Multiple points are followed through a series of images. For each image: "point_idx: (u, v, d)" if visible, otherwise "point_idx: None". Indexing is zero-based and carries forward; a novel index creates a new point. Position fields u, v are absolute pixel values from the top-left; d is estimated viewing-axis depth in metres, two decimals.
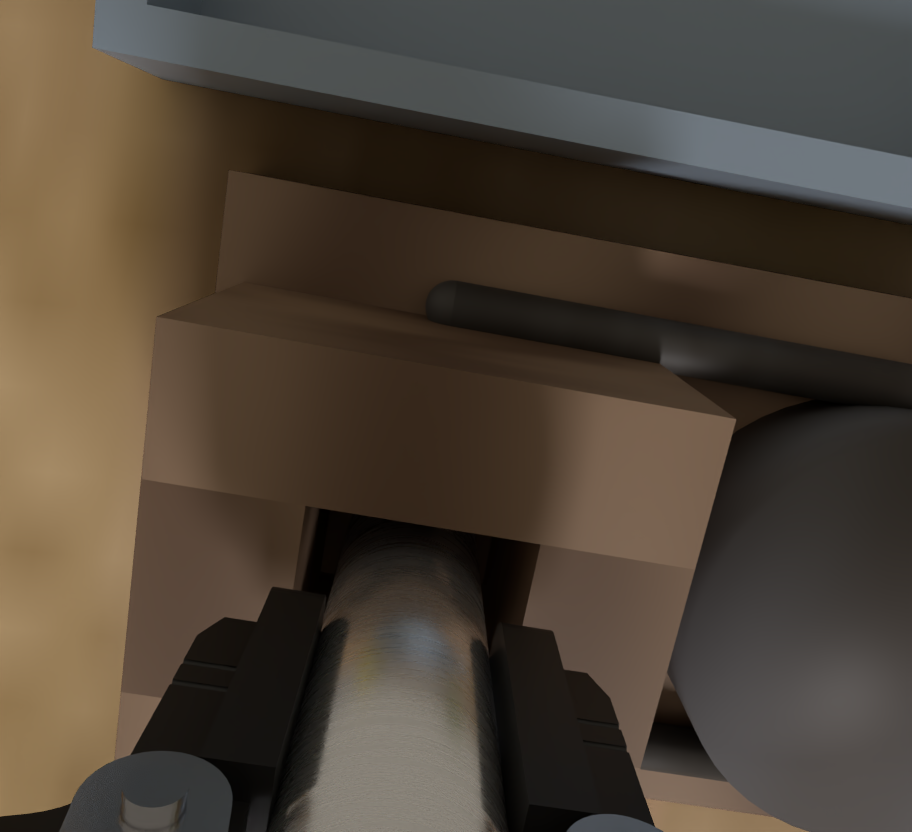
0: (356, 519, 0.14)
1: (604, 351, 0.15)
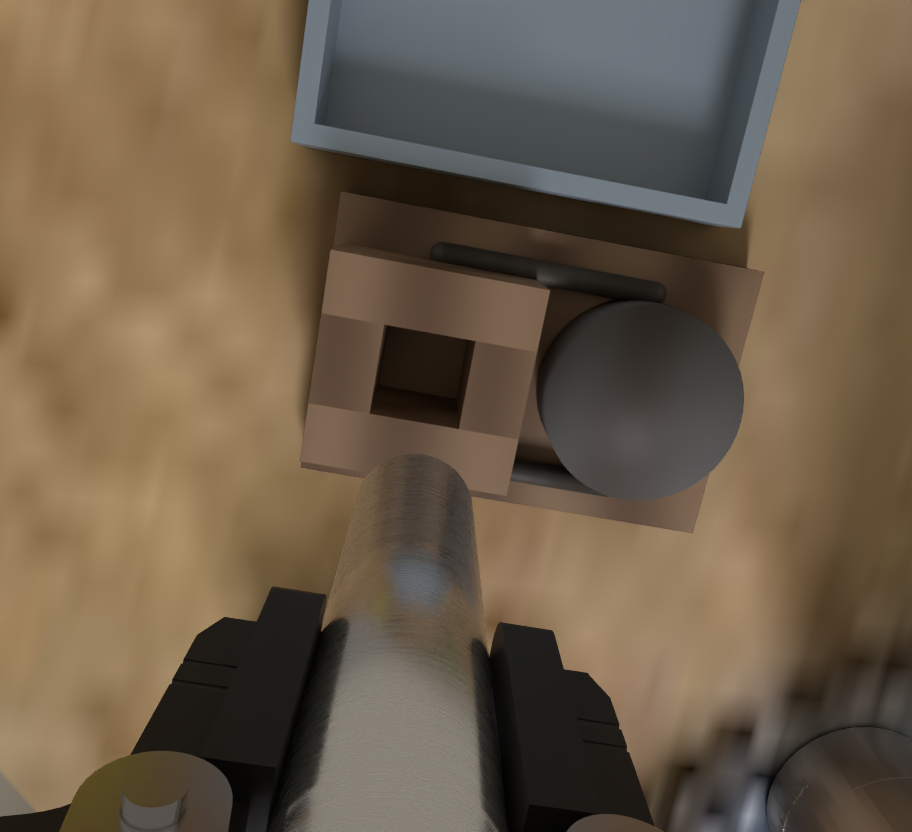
0: (356, 519, 0.14)
1: (511, 274, 0.34)
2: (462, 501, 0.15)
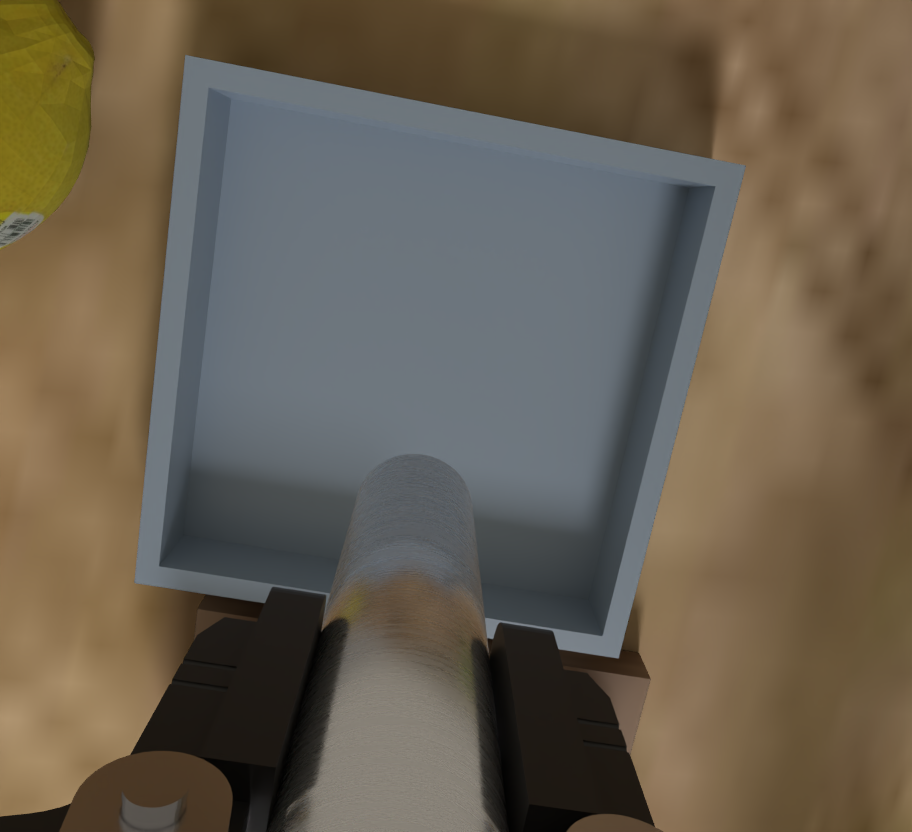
0: (356, 519, 0.14)
1: None
2: (462, 501, 0.15)
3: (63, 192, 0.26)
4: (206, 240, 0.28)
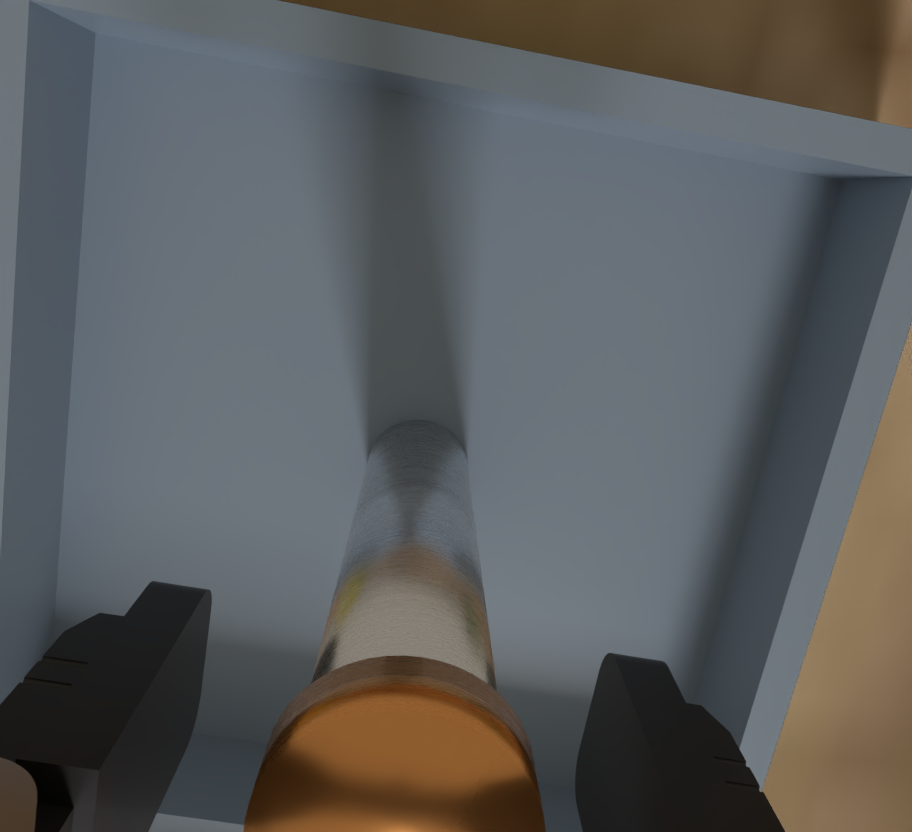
0: (371, 470, 0.17)
1: None
2: (459, 457, 0.18)
3: None
4: (54, 266, 0.17)
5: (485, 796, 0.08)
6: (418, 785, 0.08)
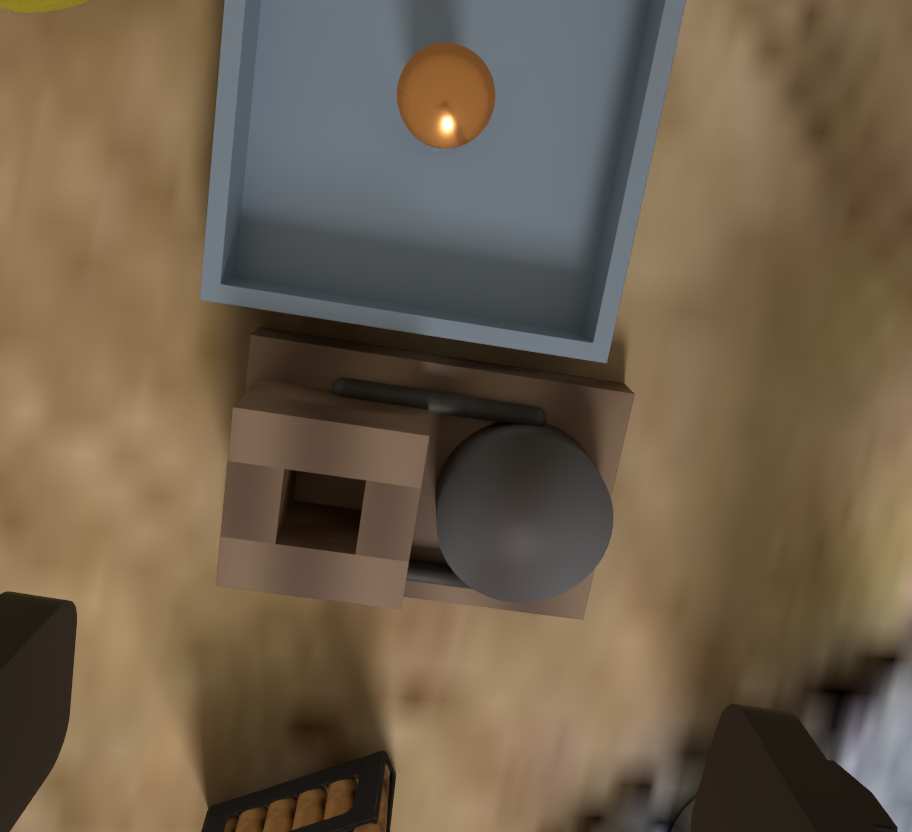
0: None
1: (405, 405, 0.38)
2: None
3: None
4: None
5: (475, 76, 0.25)
6: (453, 72, 0.25)
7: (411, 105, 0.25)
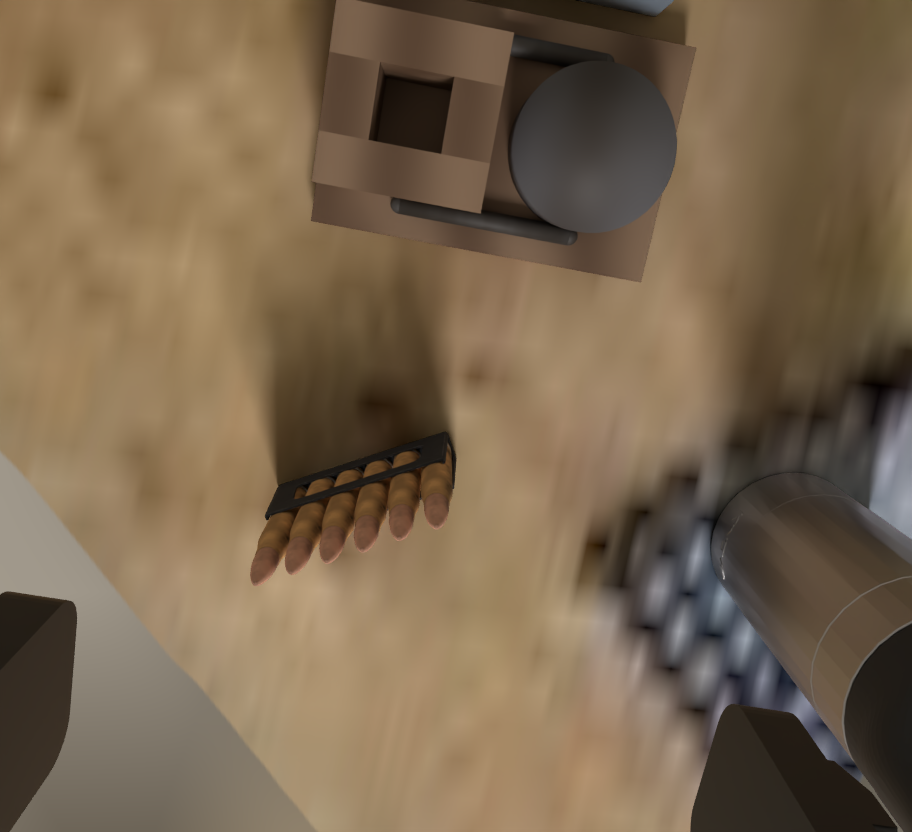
0: None
1: None
2: None
3: None
4: None
5: None
6: None
7: None
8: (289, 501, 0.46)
